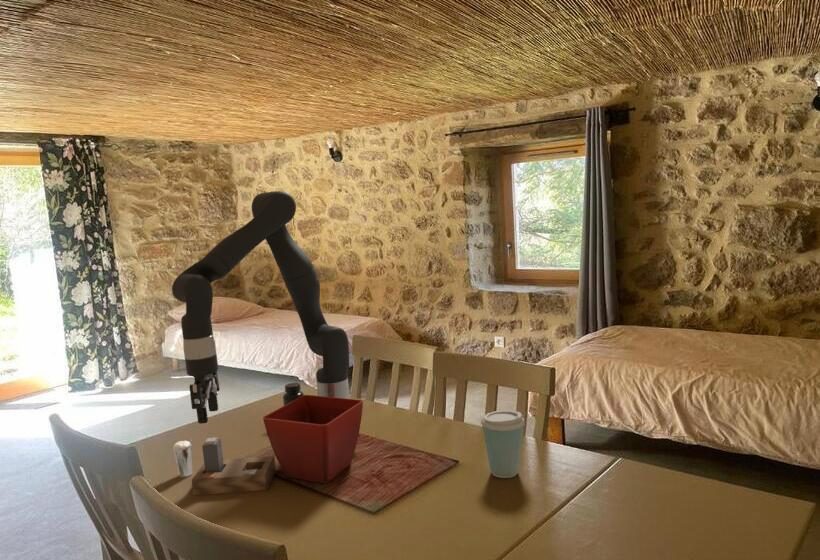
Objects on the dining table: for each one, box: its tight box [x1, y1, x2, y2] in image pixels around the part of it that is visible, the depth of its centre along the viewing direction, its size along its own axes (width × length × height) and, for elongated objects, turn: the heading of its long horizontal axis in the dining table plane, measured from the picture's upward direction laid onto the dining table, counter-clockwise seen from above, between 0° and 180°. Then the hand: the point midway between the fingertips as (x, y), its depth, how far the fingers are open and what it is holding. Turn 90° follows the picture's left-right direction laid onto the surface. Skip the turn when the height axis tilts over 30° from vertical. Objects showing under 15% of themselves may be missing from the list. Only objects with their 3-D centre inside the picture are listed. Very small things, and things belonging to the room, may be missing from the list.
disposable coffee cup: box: [480, 409, 526, 479], centre depth 149 cm, size 11×11×15 cm
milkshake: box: [172, 438, 193, 478], centre depth 161 cm, size 4×5×10 cm
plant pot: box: [262, 394, 364, 484], centre depth 157 cm, size 19×19×17 cm
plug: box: [201, 436, 224, 473], centre depth 154 cm, size 4×4×12 cm
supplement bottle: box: [282, 382, 305, 406], centre depth 196 cm, size 7×7×12 cm
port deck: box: [191, 455, 277, 496], centre depth 155 cm, size 18×11×4 cm, turn 91°
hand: (208, 416), depth 153 cm, fingers open, 8 cm apart
